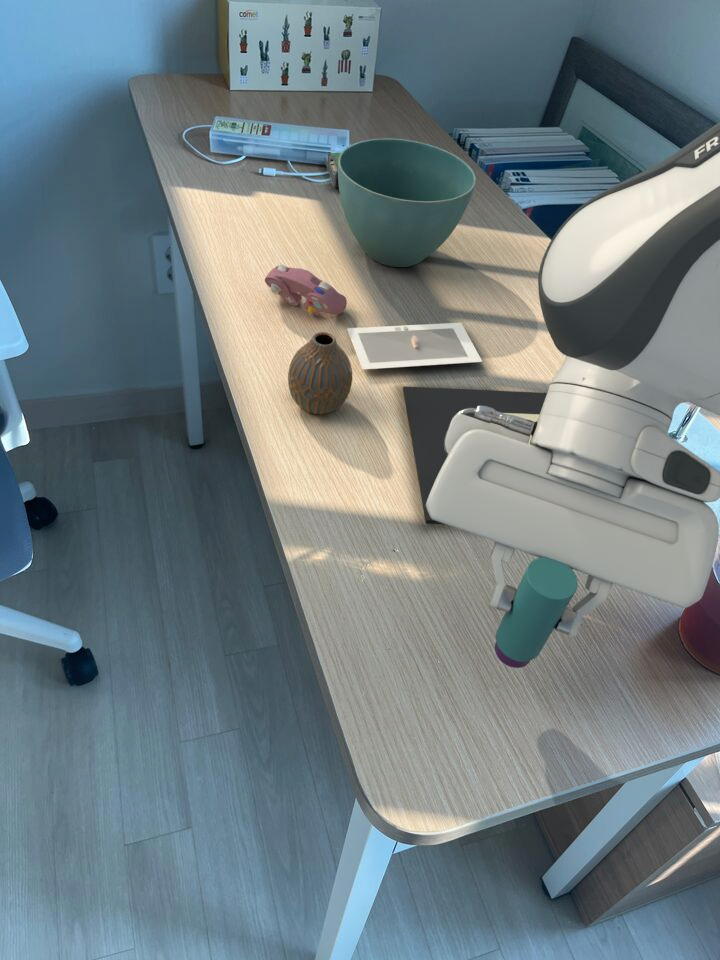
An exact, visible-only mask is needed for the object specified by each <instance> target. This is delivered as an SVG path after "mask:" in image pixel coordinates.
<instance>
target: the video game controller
mask: <svg viewBox="0 0 720 960" xmlns="http://www.w3.org/2000/svg"><path fill="white" fill-rule="evenodd" d="M264 282H265V284H266V285H267V287H268V288H269V290H270V291H271V292H272V293H273V294H276V295H278V296H279V297H281V298H282V299H283V300H284V302H286V304H288V305H290V306H293V307H296V306H298V305H299V303H300V302H301V301H302V298H305V302H304V303H303V308H304V309H305V310H306V311H307V312H308V313H309V314H311V315H314V316H319V315H320V314H321V313H323V314H324V313H325V314H331V315H340V314H343V313H344V312H345V311H346V308H347V304H348V301H347V297H346V296H344V294H341V293H340V292H338V291H337V290H336V289H335V287H334V286H332V285H330V284H329V283H328V282H326V281H324V280H322V279H320V278H318V276H316V275H315V274H313V272H311V271H309V270H308V269H305V268H299V267H289V266H287V265H285V264H283V263H280V264H279V265H276V266H275V267H273V268H272V269H271V270H270V271H269V272H268V273H267V275H265V277H264Z"/></svg>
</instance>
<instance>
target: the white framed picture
mask: <svg viewBox="0 0 720 960" xmlns="http://www.w3.org/2000/svg"><path fill="white" fill-rule="evenodd" d="M346 330H347V332H348V335H349V338H350V340H351V343H352V346H353V348H354V351H355V354H356V356H357V359H358V362H359V364H360V367H361V369H362V371H363V370H378V369H394V368H405V367H406V368H408V367H409V368H410V367H422V366H438V365H439V366H440V365H453V364H456V365H457V364H470V363H482V362H483V360H482V358H481V356H480V355H479V352H478V350H477V349H476V347H475V346H474V343H473V342H472V339H471V338H470V336H469V335H468V333H467V330H466V329H465V327H464V325H463V323H462V322H445V323H444V322H443V323H426V324H425V323H424V324H408V325H406V324H405V325H388V326H387V325H386V326H385V325H384V326H367V327H348V328H346Z"/></svg>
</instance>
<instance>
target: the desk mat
mask: <svg viewBox="0 0 720 960" xmlns="http://www.w3.org/2000/svg"><path fill="white" fill-rule="evenodd" d="M402 392H403V398H404V404H405V409H406V415H407V421H408V426H409V432H410V433H409V434H410V438H411V444H412V451H413V456H414V463H415V468H416V474H417V481H418V486H419V492H420V498H421V503H422V510H423V517H424V522H425V523H426V524H442V523H441V522H438V521H435V520H433V519H431V517H430V515H429V513H428V511H427V508H426V502H427V499H428V497H429V494H430V492H431V489H432V487H433V485H434V482H435V480H436V478H437V476H438V474H439V472H440V470H441V468H442V466H443V464H444V462H445V460H446V458H447V457H448V456H447V454H446V452H445V449H444V438H445V435H446V433H447V430H448V427H449V424H450V421H451V419H452V418H453V417H454V415H456V414H457V413H458V412H459V411H461V410H463V409H467V408H477V406H478V405H482V406H487V407H490V408H493V409H495V411H498V412H500V413H504V414H509V415H514V416H518V417H521V418H524V419H527V420H531V421H533V422H536V421H538V418H539V415H540V412H541V409H542V407H543V404H544V401H545V398H546V395H547V392H538V391H537V392H535V391H515V390H514V391H513V390H493V389H492V390H490V389H469V388H449V387H448V388H446V387H427V386H426V387H423V386H402ZM465 415H466V416H469V417H472V418H475V417H474V413H469V414H465ZM475 419H477V418H475ZM490 424H493V423H490ZM493 425H496V426H499V425H497V424H493ZM500 427H502V426H500ZM503 428H504V427H503ZM506 429H507V428H506ZM531 438H532V436H531V435H530V440H531ZM530 440H529V443H528V444H530Z"/></svg>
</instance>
